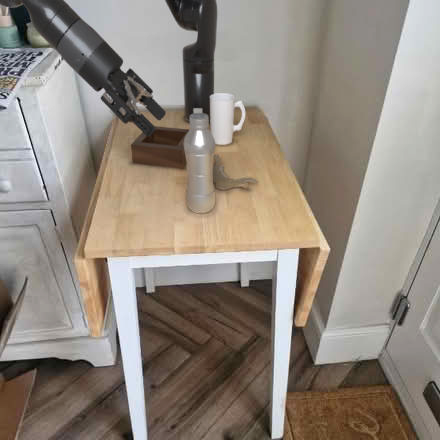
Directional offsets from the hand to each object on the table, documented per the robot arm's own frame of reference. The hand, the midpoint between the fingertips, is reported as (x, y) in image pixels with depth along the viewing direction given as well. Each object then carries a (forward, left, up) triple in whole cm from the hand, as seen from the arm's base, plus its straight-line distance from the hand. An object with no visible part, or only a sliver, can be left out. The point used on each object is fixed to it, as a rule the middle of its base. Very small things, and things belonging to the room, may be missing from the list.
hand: (158, 124), depth 83 cm
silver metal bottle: (-1, +8, -18) cm, 20 cm away
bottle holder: (-26, -8, -18) cm, 32 cm away
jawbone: (-19, +12, -18) cm, 29 cm away
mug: (-40, +6, -18) cm, 44 cm away
